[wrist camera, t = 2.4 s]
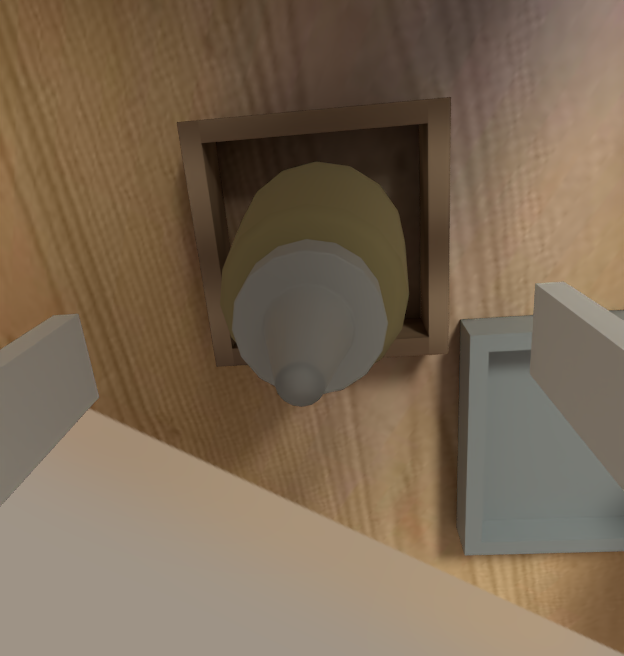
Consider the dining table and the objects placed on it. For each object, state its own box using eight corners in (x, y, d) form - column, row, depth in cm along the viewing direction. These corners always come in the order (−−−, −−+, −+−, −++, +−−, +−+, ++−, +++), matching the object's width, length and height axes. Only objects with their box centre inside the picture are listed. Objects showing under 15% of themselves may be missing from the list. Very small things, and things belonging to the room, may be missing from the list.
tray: (460, 319, 30) (470, 335, 28) (735, 303, 29) (769, 318, 27) (456, 527, 36) (464, 555, 33) (689, 520, 34) (714, 548, 32)
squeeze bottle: (329, 330, 31) (316, 574, 14) (221, 240, 29) (61, 393, 12) (428, 227, 28) (556, 374, 12) (316, 122, 27) (277, 116, 10)
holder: (193, 122, 27) (176, 122, 24) (438, 100, 26) (450, 97, 23) (227, 345, 32) (216, 366, 29) (438, 332, 31) (448, 353, 28)
